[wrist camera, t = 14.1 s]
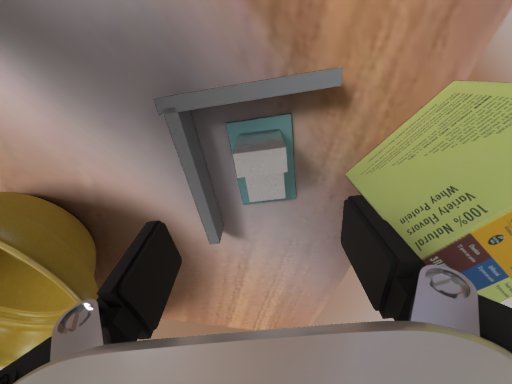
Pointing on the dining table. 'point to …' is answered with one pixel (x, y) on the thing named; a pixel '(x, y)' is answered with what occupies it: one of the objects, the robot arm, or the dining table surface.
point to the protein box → (451, 183)
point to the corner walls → (181, 104)
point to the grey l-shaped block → (261, 164)
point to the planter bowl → (39, 270)
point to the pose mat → (263, 124)
